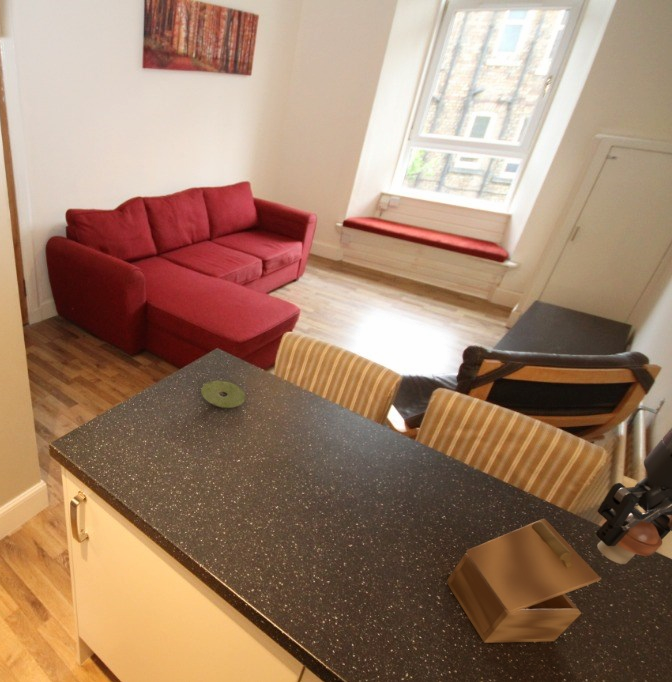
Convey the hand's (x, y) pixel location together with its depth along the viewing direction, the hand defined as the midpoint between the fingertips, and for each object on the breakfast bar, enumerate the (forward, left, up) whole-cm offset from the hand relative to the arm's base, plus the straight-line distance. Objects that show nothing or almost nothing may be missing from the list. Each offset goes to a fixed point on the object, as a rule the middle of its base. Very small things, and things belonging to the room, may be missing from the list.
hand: (624, 540), depth 63 cm
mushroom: (0, 0, -3) cm, 3 cm away
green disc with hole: (+63, -31, -17) cm, 73 cm away
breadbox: (+10, +4, -17) cm, 20 cm away
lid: (+11, +5, -6) cm, 13 cm away
